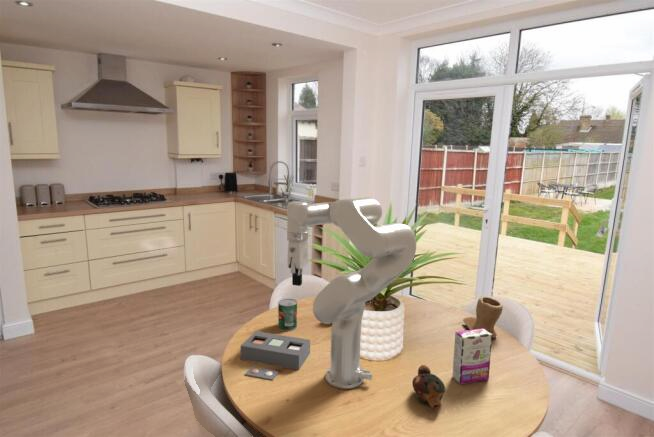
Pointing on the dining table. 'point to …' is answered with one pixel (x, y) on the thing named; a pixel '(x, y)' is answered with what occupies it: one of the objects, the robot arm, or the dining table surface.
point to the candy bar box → (472, 355)
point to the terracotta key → (258, 341)
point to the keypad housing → (275, 350)
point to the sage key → (276, 343)
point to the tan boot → (485, 315)
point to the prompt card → (261, 373)
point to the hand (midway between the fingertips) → (297, 284)
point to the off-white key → (294, 347)
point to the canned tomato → (287, 314)
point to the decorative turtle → (428, 387)
